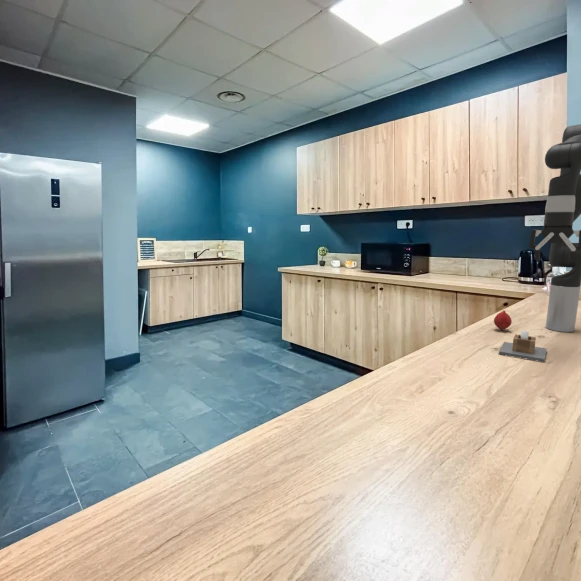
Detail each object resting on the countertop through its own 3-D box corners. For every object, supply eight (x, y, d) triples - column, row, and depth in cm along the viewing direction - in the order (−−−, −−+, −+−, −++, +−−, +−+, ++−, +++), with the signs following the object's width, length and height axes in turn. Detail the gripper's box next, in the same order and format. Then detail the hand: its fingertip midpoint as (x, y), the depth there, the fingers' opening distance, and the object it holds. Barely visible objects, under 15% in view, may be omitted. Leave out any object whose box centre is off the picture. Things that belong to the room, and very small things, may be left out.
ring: (514, 345, 124) (515, 334, 123) (534, 349, 121) (535, 337, 120) (512, 350, 120) (513, 338, 119) (533, 354, 116) (534, 341, 116)
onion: (489, 329, 147) (491, 309, 146) (500, 327, 149) (501, 307, 148) (503, 333, 142) (505, 312, 140) (513, 331, 144) (516, 310, 143)
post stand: (503, 344, 129) (505, 324, 127) (546, 351, 122) (548, 330, 121) (498, 354, 119) (500, 332, 118) (544, 362, 112) (547, 339, 111)
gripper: (587, 210, 118) (580, 262, 121) (533, 211, 126) (528, 260, 129) (588, 210, 112) (581, 264, 115) (531, 211, 120) (526, 262, 123)
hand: (553, 262), depth 122 cm, fingers open, 8 cm apart
